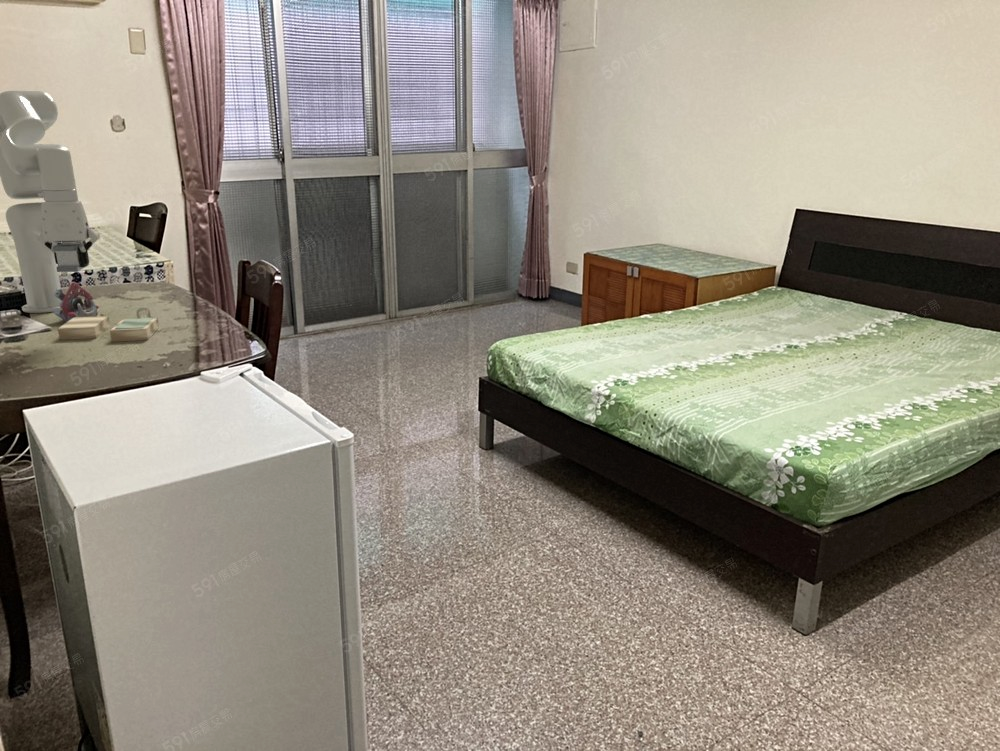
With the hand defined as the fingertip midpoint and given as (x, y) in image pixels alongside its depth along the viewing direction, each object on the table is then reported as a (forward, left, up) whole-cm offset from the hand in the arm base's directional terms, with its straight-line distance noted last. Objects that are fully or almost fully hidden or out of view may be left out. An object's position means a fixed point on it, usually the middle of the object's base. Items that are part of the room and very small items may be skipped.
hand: (73, 265), depth 202 cm
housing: (0, 0, -1) cm, 1 cm away
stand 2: (+4, +14, -18) cm, 24 cm away
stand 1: (0, 0, -18) cm, 18 cm away
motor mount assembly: (-16, -7, -19) cm, 25 cm away
